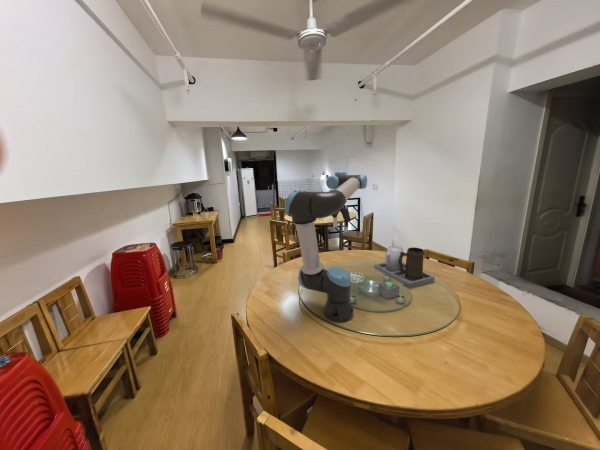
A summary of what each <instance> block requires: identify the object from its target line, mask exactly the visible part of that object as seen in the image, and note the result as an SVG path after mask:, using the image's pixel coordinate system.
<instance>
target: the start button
mask: <svg viewBox="0 0 600 450" xmlns="http://www.w3.org/2000/svg"><path fill="white" fill-rule="evenodd" d="M385 282H386V285H385V286H387V287H388V288H389V287H392V286H393V283H394V282H392V281H391V282H387V281H385Z"/></svg>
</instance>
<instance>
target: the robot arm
mask: <svg viewBox="0 0 600 450" xmlns="http://www.w3.org/2000/svg"><path fill="white" fill-rule="evenodd" d="M325 185H326V187H327V188H328V189H330V190H329V191H301V190H298V191H292V192H290V193H289V194H288V195H287V197H286V198H285V199H286V200H285V203H284V212H285V213H284V214H286V216H287V217H290V218H291V221H292V224H294V225H295V226H296V231H297V236H298V237H297V238H298V242H299V248H300V253H301V258H302V263H303V264H302V265H301V267H300V268H299V270H298V277H297V278H298V283H299V285H300V286H301V287H302V288H304V289H307V290H311V291H316V292H320V293H324V294H326V301H325V304H324V307H323V315H324V316H325V318H327V319H328V320H330V321H332V322H336V323H344V322H347V321H350V320H351V319H352V318H354V307H353V305H352V301H351V284H352V281H351V275H350V272H348V270H346V269H344V268H341V267H329V268H328V269H324V268H325V267H324V263H322V262H321V260H320V254H319V245H318V240H317V232H316V226H315V223H316V221H317V219H324V218H327V217H332V220H333V221H332V222H333V223H332V224H333V225H332V227H333V228H338V215H339V213H341V215H342V217H343V220H344V221H343V233H347V232H349V222H351V215H350V212H349V205H347V204H346V203H347V201H348V200H349V199H350V198H351V197H352V196H353V195H354V194H355V193H356V192H357V191H358V190H359V189H360V190H362V189H363V190H364V189H366V188H367V186H368V177H367V175H365V174H348V173H347V171H335V172H334V174H333V175H329V176H328V177H327V178H326V179H325Z"/></svg>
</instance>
